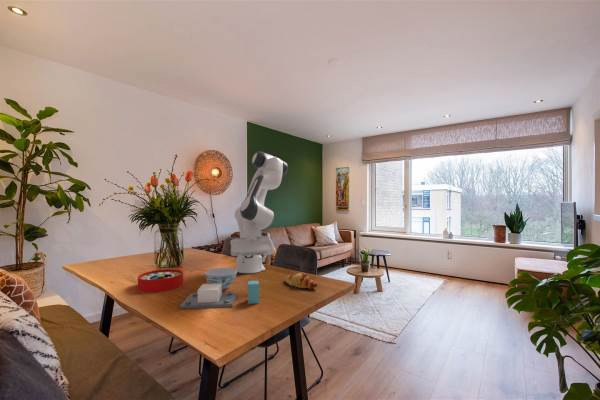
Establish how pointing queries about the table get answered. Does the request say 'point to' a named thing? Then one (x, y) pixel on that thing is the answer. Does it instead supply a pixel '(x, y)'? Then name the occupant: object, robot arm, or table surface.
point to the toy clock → (160, 280)
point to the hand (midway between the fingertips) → (253, 262)
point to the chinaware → (221, 276)
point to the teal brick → (253, 292)
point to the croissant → (300, 281)
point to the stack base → (221, 303)
